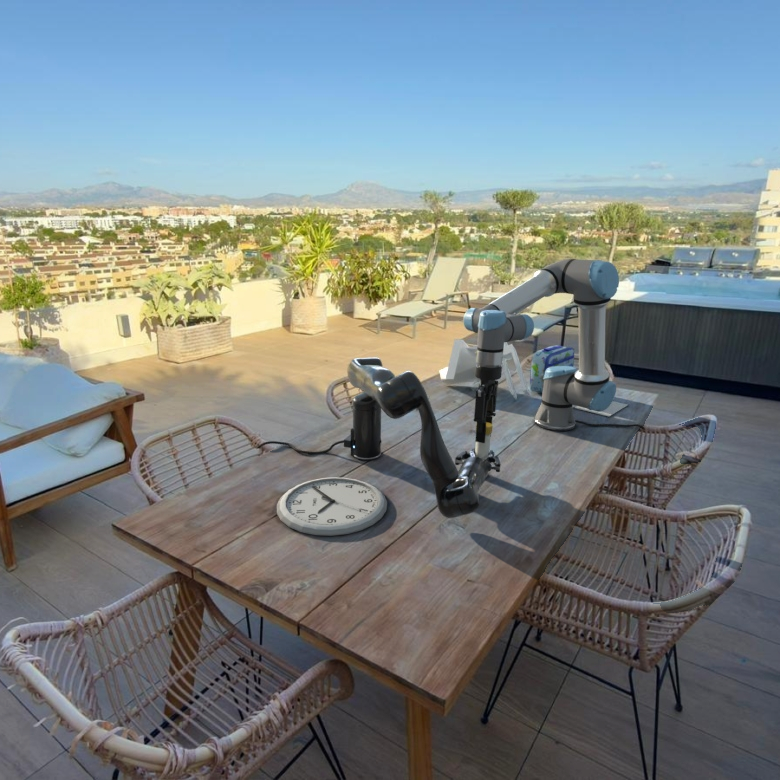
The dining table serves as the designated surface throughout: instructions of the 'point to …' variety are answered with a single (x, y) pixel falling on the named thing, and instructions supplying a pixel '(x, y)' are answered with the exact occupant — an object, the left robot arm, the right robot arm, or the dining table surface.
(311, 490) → the wall clock
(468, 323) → the right robot arm
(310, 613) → the dining table surface
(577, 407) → the invitation card
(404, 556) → the dining table surface
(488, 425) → the lid
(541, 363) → the lunch box
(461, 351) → the white plastic object
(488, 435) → the jar
